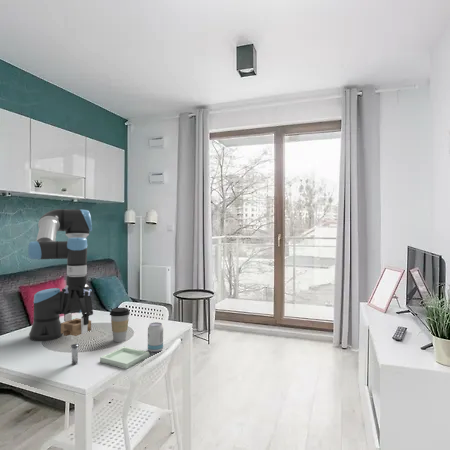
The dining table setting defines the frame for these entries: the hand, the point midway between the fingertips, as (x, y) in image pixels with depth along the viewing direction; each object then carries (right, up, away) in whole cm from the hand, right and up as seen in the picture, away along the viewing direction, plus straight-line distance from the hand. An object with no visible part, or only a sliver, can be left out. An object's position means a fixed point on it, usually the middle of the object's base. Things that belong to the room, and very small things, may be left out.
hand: (76, 331), depth 140 cm
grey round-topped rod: (-1, -13, 0) cm, 13 cm away
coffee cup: (+9, -14, +29) cm, 33 cm away
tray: (+19, -14, +5) cm, 24 cm away
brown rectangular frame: (0, 0, 0) cm, 0 cm away
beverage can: (+29, -14, +16) cm, 36 cm away
